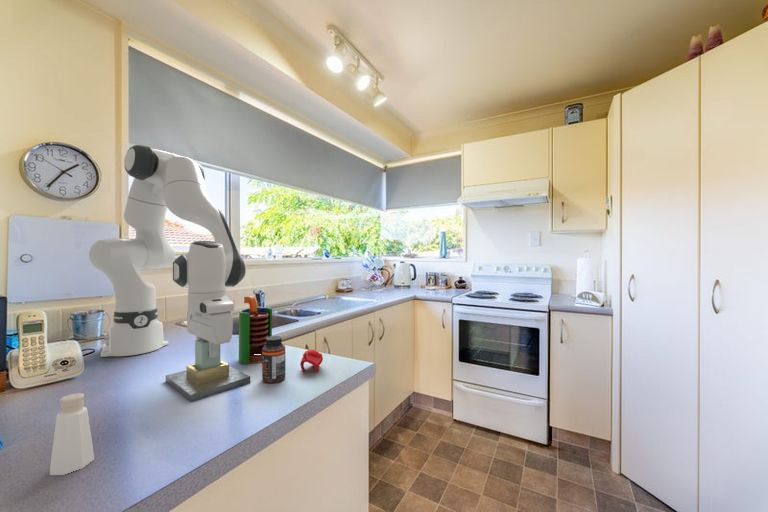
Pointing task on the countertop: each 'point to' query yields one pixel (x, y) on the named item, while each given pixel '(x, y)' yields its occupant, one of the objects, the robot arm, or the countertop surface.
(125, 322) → the robot arm
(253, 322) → the motor
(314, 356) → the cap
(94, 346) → the countertop surface
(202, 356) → the pale green flat box
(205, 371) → the mounting plate
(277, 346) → the supplement bottle
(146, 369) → the countertop surface
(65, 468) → the salt shaker
